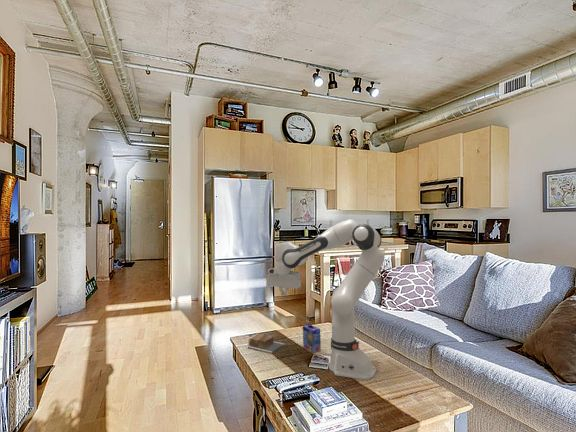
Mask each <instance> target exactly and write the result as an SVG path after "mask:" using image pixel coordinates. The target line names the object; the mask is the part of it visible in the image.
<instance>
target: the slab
mask: <svg viewBox="0 0 576 432" xmlns="http://www.w3.org/2000/svg"><path fill="white" fill-rule="evenodd" d="M273 341H274V336H271V335H267V334H262V333H256V334H254V335H251V336H250V337H249V338H248V346H254V347H259V348H263V349H265V348H267V347H269V346H270V345H272V344H273Z"/></svg>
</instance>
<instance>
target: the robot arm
mask: <svg viewBox="0 0 576 432" xmlns="http://www.w3.org/2000/svg"><path fill="white" fill-rule="evenodd" d="M349 242H354V243H355V245H356V246H357V247H358V248H359V250H361V253H360V255H359V257H358V258H357V260H356V261H355V263H353V265H352V266H351V268H350V269H349V271H347V274H346V275H345V277H344V278H343V279H342V282H341V283H340V284H339V286H337V287H336V288H335V289H334V290H333V292H332V295H331V300H330V304H331V308H332V310H331V312H332V313H331V338H330V349H331V351H330V352H331V353H330V354H331V355H330V360H329V365H328V369H329V370H330V371H331V372H332V373H333V375H335V376H338V377H345V378H351V379H357V380H359V379H360V380H365V381H366V380H367V381H368V380H371V379H372V378H373V377H375V376H376V374H377V373H376V372H377V368H376V366H374V365H372V362H371V358H370V356H369V355H368V354H367V353H365V352H364V351H363V350H362V349H361V348H360V347H359V345H360V340H358V341H357V340H356V337H355V335H356V333H355V332H356V331H355V327H356V326H355V307H356V305H357V304H358V302H359V300H360V299H361V298H362V295H363V294H364V292H365V290H366V289H367V287H368V286H369V285H370V284H371V282H372V280H373V279H374V278H375V276H376V275H377V273H378V272H379V270H380V268H381V267H382V266H383V263H384V261H385V253H383V251H382V250H381V249H380V246H381V245H382V237H381V234H380V233H379V232H378V231H377V230H376V229H375V228H374V227H372V226H371V225H369V224H365V223H364V224H363V223H362V224H359V223H358V222H357V221H356V220H354V219H352V218H348V219H347V220H343V221H340V222H338V223H336V224H334V225H333V226H331V227H329V228H327V229H326V230H324V231H323V232H322V233H321V234H319V235H318V236H317V237H316V238H314V239H313V240H311V241H308V242H306V243H305V244H303V245H300V246H298V245H295V244H293V243H292V242H291V241H288V240H286V241H281V242H278V243H277V244H276V246H275V260H276V262H275V266H274V267H272V268H269V269H268V270H267V276H266V278H267V279H266V283H267V286H268V287H277V288H278V289H279V291H280V295H281V296H287V295H288V291H289V290H290V289H295V290H296V289H297V290H298V289H301V287H302V281H301V273H300V272H299V271H297V270H296V271H294V270H292V269H295V268H297V267H298V266H301V265H304V264H305V263H307V261H308V260H309V257H311V256H313V255H314V254H316V253H318V252H322V251H327V250H332V249H337V248H339V247H341V246H344V245H345V244H347V243H349ZM283 288H284V289H283Z"/></svg>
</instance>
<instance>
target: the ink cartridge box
mask: <svg viewBox="0 0 576 432" xmlns="http://www.w3.org/2000/svg"><path fill="white" fill-rule="evenodd" d="M321 341H322V340H321V328H319V327H317V326H314V325H312V324H311V323H309V322H307V324H305V325H303V326H302V344H303V345H302V346H303V348H305V349H307V350H309V351H310V352H311V353H317V352H319V351H322V348H321V345H322V343H321Z"/></svg>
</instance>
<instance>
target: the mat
mask: <svg viewBox="0 0 576 432" xmlns="http://www.w3.org/2000/svg"><path fill="white" fill-rule="evenodd" d="M284 346H285V343H282V342H278V341H274V340H273V344H272V345H270V346H269V347H267V348H265V349H263V348H259V347H254V346H249V345H248V346H247V349H248V350H252V351H253V350H254V351H257V352H261V353H266V354H270V355H272V354H274V353H275V352H277V351H279V350H280V349H281V348H282V347H284Z"/></svg>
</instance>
